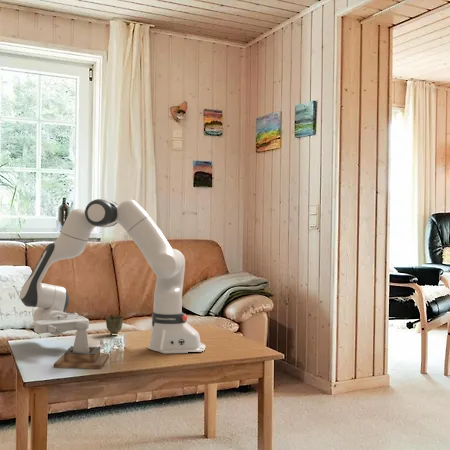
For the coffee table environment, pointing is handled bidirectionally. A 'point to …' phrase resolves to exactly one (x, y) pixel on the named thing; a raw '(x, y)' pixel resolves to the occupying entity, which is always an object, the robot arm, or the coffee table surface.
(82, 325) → the salt shaker
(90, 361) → the stepped wooden plinth
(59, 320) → the robot arm
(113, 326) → the cup
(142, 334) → the coffee table surface
